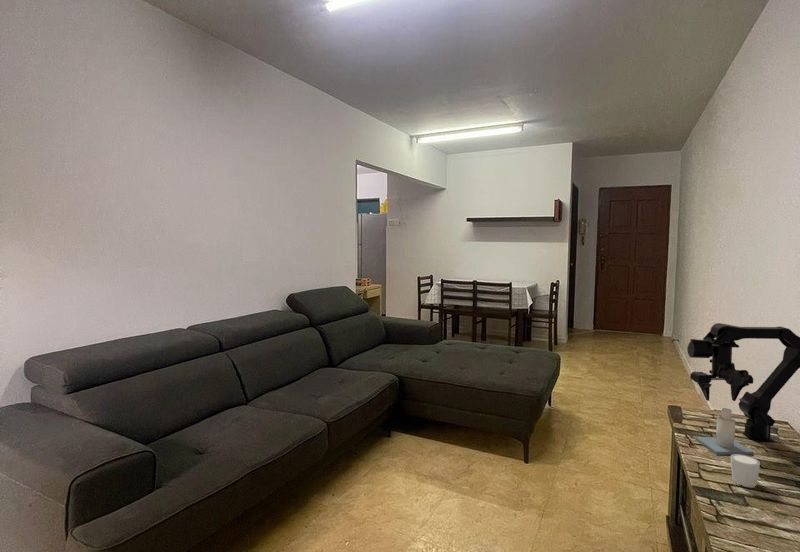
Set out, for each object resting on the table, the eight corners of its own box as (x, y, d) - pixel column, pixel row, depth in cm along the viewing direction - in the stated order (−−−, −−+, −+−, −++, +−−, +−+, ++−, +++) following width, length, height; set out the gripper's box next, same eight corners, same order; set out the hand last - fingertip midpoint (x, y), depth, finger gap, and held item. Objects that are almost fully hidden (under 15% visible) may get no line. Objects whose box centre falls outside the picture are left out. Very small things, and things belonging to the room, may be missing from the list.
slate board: (730, 440, 154) (730, 437, 154) (753, 454, 143) (753, 451, 143) (695, 439, 154) (695, 437, 154) (716, 454, 144) (716, 451, 143)
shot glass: (765, 489, 123) (765, 466, 122) (737, 487, 124) (738, 464, 124) (750, 477, 129) (751, 454, 129) (724, 475, 131) (725, 452, 130)
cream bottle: (727, 441, 150) (729, 407, 149) (737, 448, 145) (739, 412, 144) (712, 441, 151) (714, 406, 150) (721, 447, 146) (723, 412, 145)
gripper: (709, 364, 149) (708, 408, 150) (766, 364, 147) (764, 409, 148) (689, 356, 160) (688, 397, 161) (742, 356, 158) (741, 397, 159)
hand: (720, 400), depth 157 cm, fingers open, 9 cm apart
